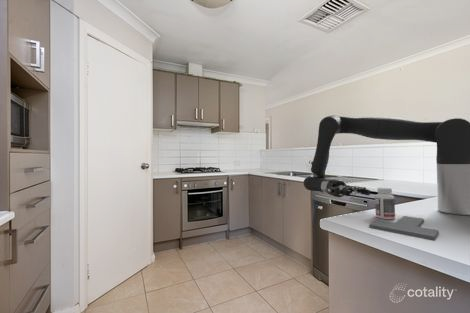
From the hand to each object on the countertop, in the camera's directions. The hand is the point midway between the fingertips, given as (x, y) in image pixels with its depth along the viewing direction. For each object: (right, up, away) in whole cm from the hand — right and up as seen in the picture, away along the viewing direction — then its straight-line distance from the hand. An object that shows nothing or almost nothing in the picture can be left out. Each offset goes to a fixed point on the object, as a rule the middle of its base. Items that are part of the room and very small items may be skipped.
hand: (359, 193), depth 84 cm
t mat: (+3, -6, -20) cm, 21 cm away
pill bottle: (+2, -7, -11) cm, 13 cm away
